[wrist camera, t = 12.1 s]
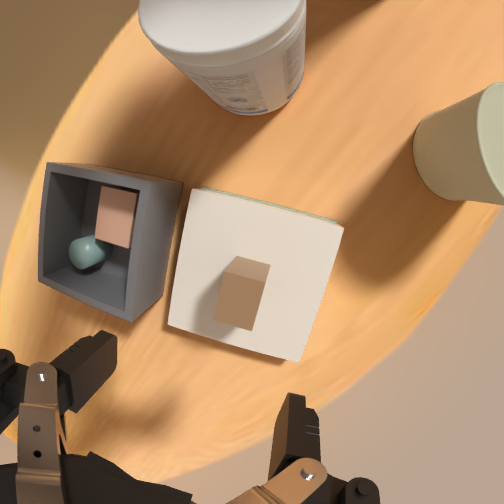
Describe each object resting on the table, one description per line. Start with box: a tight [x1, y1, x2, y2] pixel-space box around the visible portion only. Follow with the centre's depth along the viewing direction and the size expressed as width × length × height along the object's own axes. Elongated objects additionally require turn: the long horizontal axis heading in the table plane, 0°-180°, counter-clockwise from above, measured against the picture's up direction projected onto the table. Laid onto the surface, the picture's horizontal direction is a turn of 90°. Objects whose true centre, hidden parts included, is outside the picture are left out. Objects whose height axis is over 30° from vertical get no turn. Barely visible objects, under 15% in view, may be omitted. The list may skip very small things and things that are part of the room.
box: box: [38, 162, 183, 323], centre depth 27 cm, size 12×12×7 cm
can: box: [413, 82, 504, 205], centre depth 18 cm, size 9×9×12 cm
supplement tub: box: [138, 0, 306, 116], centre depth 18 cm, size 10×10×15 cm
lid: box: [168, 189, 344, 362], centre depth 25 cm, size 13×13×7 cm
